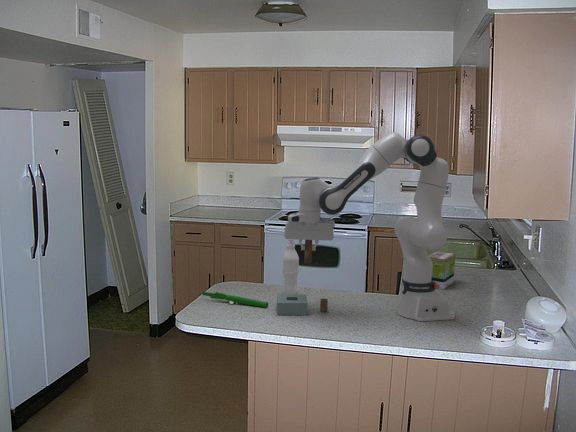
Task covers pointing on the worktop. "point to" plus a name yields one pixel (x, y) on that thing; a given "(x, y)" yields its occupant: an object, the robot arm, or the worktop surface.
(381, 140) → the robot arm
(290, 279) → the water bottle
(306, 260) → the long peg
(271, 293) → the worktop surface
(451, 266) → the tea box
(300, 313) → the hole block
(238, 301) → the green onion
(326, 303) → the short peg
